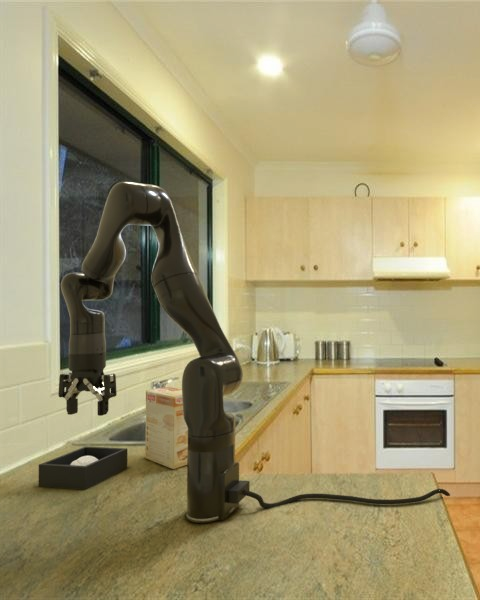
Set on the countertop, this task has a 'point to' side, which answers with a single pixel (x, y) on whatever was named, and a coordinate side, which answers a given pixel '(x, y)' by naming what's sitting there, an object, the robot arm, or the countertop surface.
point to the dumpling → (84, 461)
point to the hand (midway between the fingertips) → (87, 414)
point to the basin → (82, 468)
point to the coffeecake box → (166, 427)
